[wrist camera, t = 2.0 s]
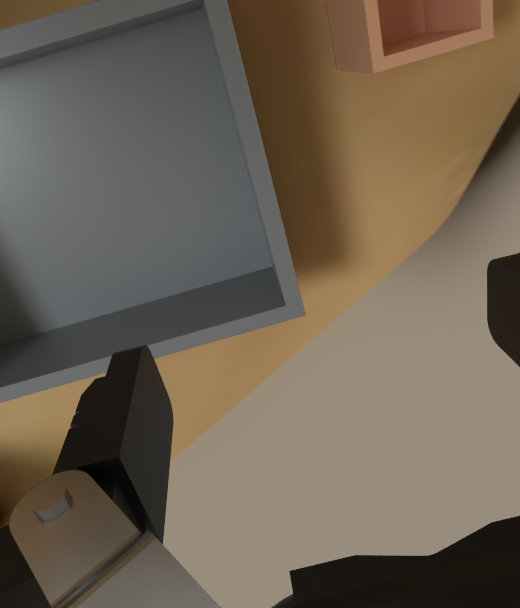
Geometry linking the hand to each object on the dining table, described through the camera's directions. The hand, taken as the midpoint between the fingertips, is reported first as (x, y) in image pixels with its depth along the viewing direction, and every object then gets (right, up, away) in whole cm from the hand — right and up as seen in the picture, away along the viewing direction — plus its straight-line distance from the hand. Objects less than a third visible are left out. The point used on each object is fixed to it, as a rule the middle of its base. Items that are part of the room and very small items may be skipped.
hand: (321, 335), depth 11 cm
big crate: (-12, +8, +20) cm, 25 cm away
